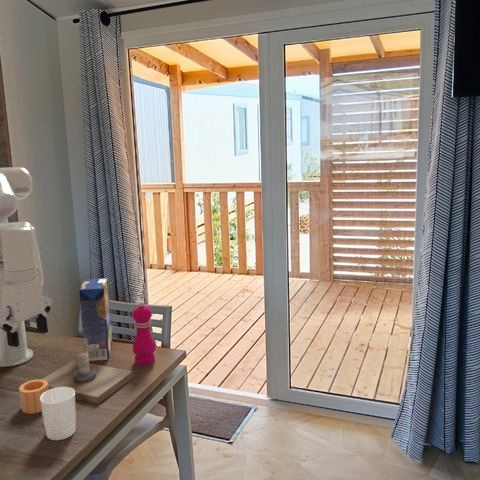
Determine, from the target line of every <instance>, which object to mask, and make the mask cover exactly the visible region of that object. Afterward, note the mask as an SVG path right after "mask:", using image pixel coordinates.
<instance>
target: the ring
mask: <svg viewBox="0 0 480 480" xmlns="http://www.w3.org/2000/svg"><path fill="white" fill-rule="evenodd" d="M42 379H43V378H41V379H40V378H39V379H32V380H29V381H26V382H24V383H23V384H21V385H20V386H19V388H18V392H19V400H20V401H19V402H20V409H21V411H22V412H23V413H24V414H29V415H30V414H31V415H32V414H38V413H42V409H41V403H40V396H41V395H42V394H43V393H44V392H46V391H48V390H49V385H48V382H47V381H46V380H42Z"/></svg>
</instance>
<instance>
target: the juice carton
mask: <svg viewBox="0 0 480 480" xmlns="http://www.w3.org/2000/svg"><path fill="white" fill-rule="evenodd" d="M108 280H109V279H108V278H107V277H105V278H95V279H84V280H83V282H82V283H81V286H80V288H79V289H78V291H79V302H80V313H81V314H80V316H81V324H82V337H83V346H84V347H83V348H84V353H88V355H89V362H93V361H104V360H110V357H111V352H112V349H113V335H112V322H111V309H110V295H109V282H108Z"/></svg>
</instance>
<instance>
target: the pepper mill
mask: <svg viewBox="0 0 480 480" xmlns="http://www.w3.org/2000/svg"><path fill="white" fill-rule="evenodd" d="M152 315H153V312H152V309H151V307H150V306H147V305H145V302H144V301H142V300H141V301H139V302H138V306H136V307H134V309H133V310H132V319H133V320H134V327H135V329H136V336H135V339H134V341H133V344H132V352H133V354H134V355H135V356H134V362H135V364H136V365H140V366H146V365H151V364H153V363H154V362H155V361H156V360H155V359H156V358H155V351H156V349H157V347H156V342H155V340H154V339H153V336H152V334H151V330H150V326H151V324H152V323H151V318H152V317H153V316H152Z"/></svg>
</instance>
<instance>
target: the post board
mask: <svg viewBox="0 0 480 480" xmlns="http://www.w3.org/2000/svg"><path fill="white" fill-rule="evenodd" d="M133 378H134V373H133V371H132V370H127V369H122V368H121V369H120V368H118V367H117V368H116V367H112V366H106V365H101V364H95V363H90V361H89V355H88V353H85V352H80V353H78V354H77V360H76V359H75V360H72V361H70V362H69V363H67V364H65V365H63V366H61V367H60V368H58V369H57V370H55V371H53V372H51V373H50V374H48V375H47V376H45V377H43V378H41V379H42V380H46V381H47V382H48V385H49V390H50V389H53V388H57V387H70V388H72V389H74V391H75V400H80V401H85V402H88V403H94V404H97V405H99V404H101V403H102V401H105V399H107V398H108V397H109V396H111V395H112V394H113V393H115V392H116V391H118V390H119V389H120V388H121V387H122V386H124V385H125V384H126V383H128V382H129V381H130V380H132V379H133Z"/></svg>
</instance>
